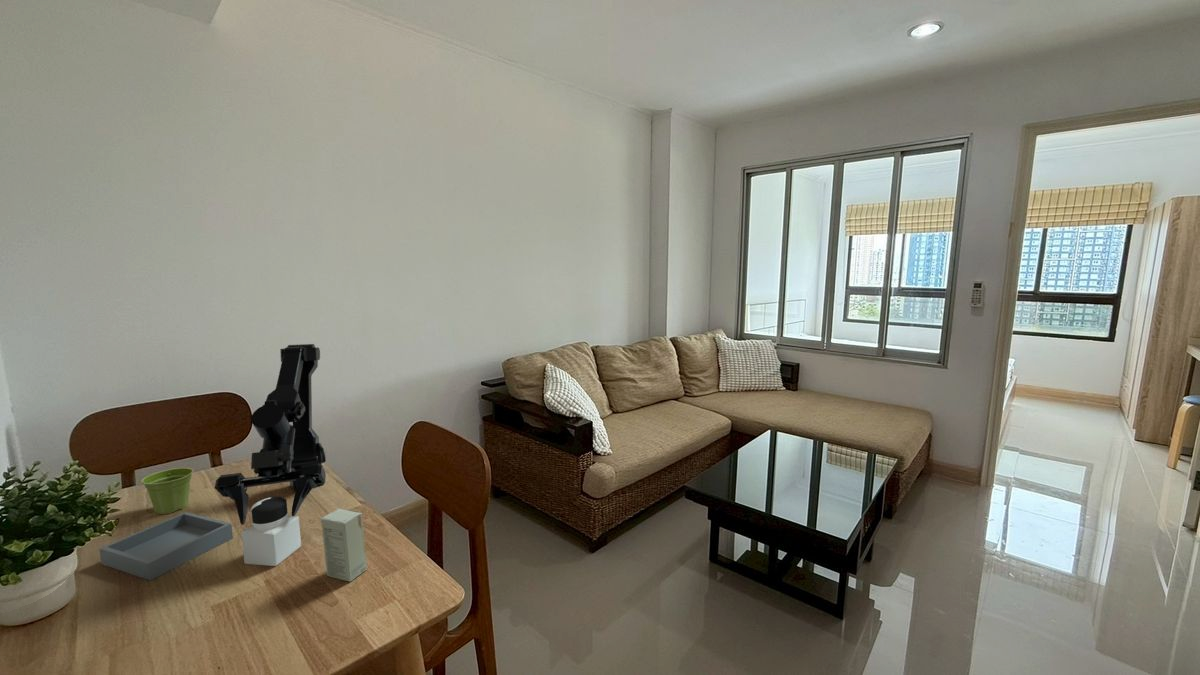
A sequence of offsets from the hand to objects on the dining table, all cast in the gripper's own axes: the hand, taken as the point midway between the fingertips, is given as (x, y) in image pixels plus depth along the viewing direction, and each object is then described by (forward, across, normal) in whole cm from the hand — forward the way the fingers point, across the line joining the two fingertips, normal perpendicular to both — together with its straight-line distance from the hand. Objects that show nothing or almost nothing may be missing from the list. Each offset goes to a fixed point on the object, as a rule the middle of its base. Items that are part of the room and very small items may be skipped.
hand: (268, 519), depth 95 cm
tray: (-2, -21, +14) cm, 25 cm away
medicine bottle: (+5, 0, +7) cm, 9 cm away
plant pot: (-17, -28, +29) cm, 44 cm away
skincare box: (+14, +15, -1) cm, 20 cm away
